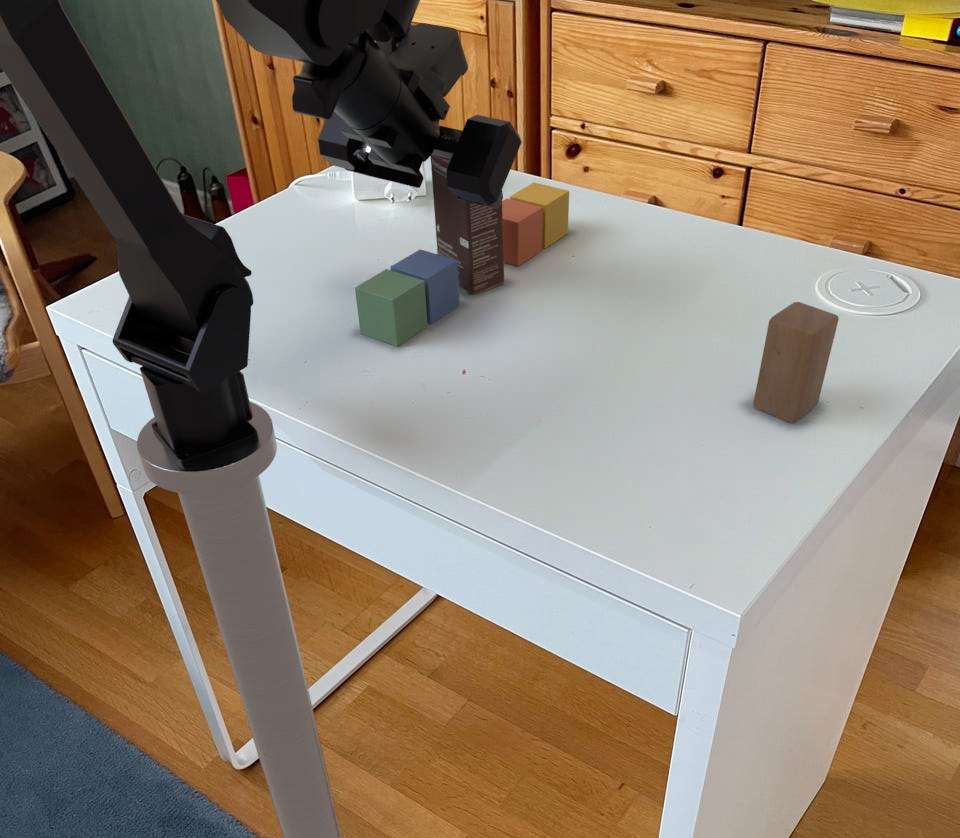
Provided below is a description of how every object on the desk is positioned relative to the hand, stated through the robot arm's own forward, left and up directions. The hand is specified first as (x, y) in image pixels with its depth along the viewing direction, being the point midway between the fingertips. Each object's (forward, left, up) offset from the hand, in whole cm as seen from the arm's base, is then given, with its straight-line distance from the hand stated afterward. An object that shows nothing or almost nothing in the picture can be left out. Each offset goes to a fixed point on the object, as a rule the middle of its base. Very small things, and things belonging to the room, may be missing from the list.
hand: (459, 192), depth 91 cm
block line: (+1, +1, -9) cm, 9 cm away
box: (+1, +1, -9) cm, 9 cm away
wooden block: (+9, -34, -9) cm, 37 cm away
